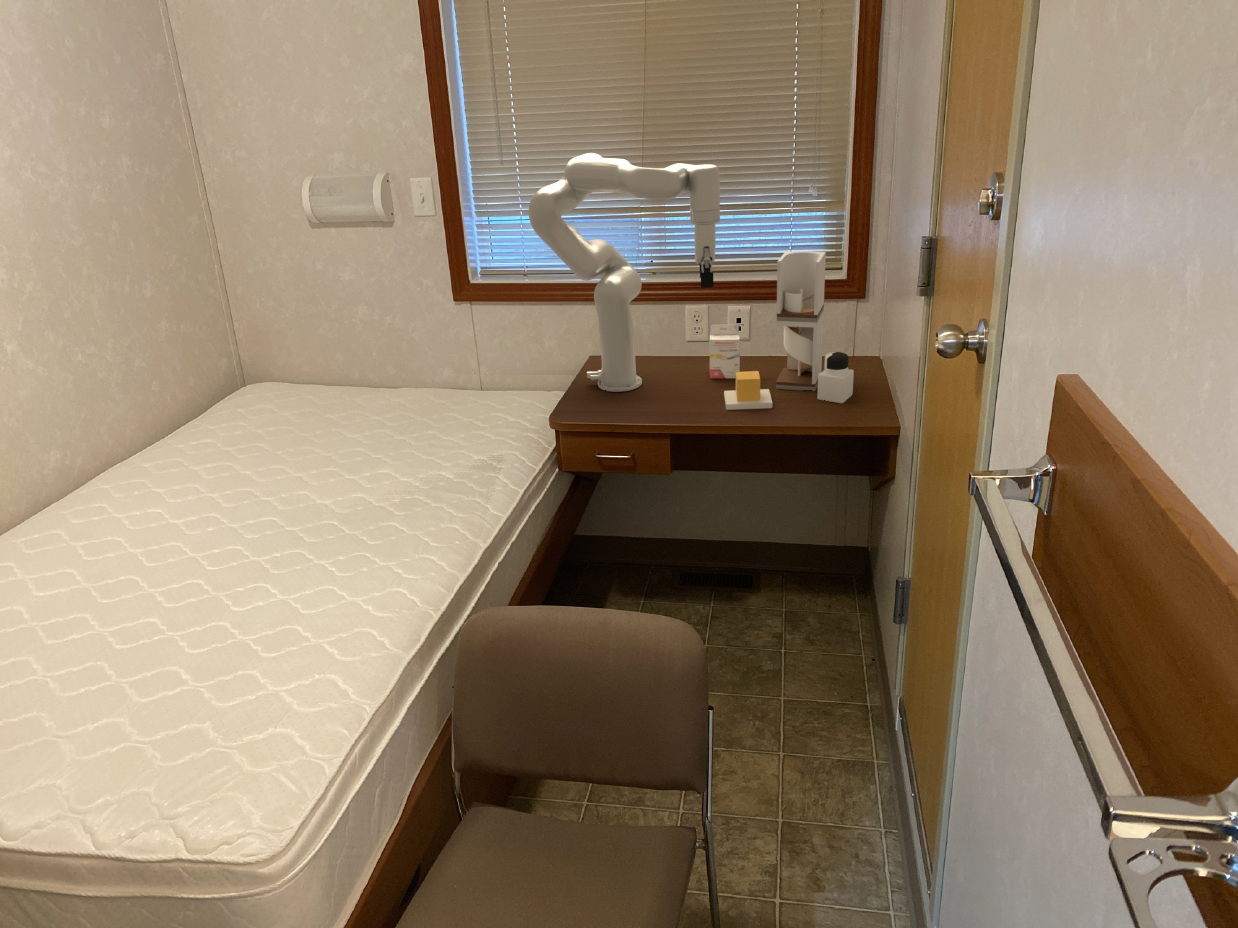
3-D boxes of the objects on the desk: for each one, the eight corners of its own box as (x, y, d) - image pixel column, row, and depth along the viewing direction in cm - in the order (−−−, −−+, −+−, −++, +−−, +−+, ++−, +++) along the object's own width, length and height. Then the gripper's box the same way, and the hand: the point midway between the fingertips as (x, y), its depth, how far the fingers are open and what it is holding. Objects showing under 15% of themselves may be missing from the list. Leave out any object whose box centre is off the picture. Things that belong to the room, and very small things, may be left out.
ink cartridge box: (709, 379, 260) (708, 329, 253) (709, 373, 264) (708, 324, 258) (740, 378, 259) (739, 328, 252) (739, 372, 263) (739, 323, 257)
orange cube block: (737, 401, 239) (736, 379, 236) (735, 393, 244) (735, 371, 242) (760, 400, 238) (760, 378, 236) (758, 392, 244) (758, 371, 241)
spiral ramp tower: (783, 374, 259) (785, 251, 244) (821, 377, 256) (825, 252, 241) (775, 388, 249) (777, 261, 235) (814, 391, 246) (819, 262, 231)
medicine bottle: (852, 395, 242) (855, 351, 237) (842, 404, 237) (844, 360, 232) (827, 391, 246) (829, 348, 241) (816, 399, 240) (818, 356, 235)
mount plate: (726, 409, 238) (725, 386, 235) (724, 396, 247) (723, 373, 244) (772, 408, 237) (772, 384, 234) (768, 394, 246) (769, 371, 243)
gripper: (689, 210, 239) (691, 275, 246) (690, 223, 223) (692, 292, 230) (718, 209, 238) (719, 274, 245) (721, 221, 223) (722, 290, 230)
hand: (706, 282), depth 238 cm, fingers open, 9 cm apart
